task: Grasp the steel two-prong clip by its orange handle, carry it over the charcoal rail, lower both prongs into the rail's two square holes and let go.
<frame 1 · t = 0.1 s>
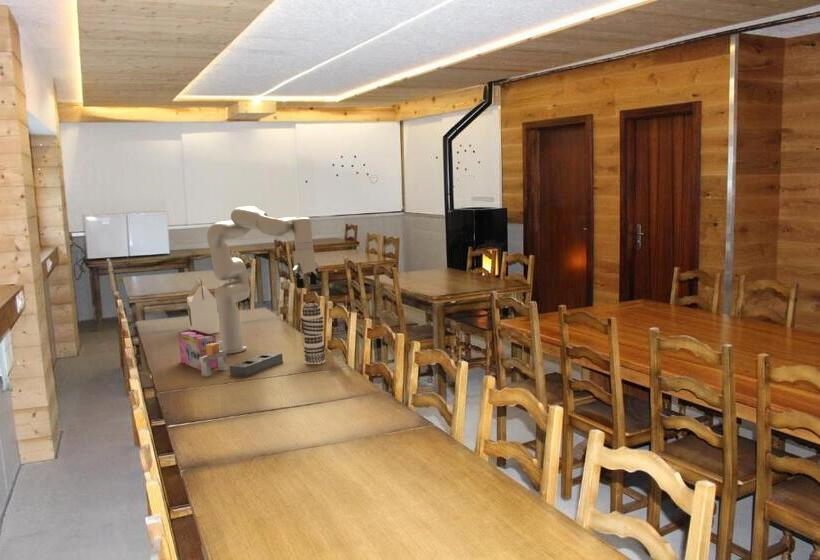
hand: (307, 286, 322), 31 cm above the table, tool pointing down, fingers open, 9 cm apart
rail: (257, 368, 311), on the table
decorative candle: (315, 362, 317), on the table
gum box: (199, 365, 325), on the table
clip: (214, 372, 309), on the table
gable box: (204, 331, 400), on the table
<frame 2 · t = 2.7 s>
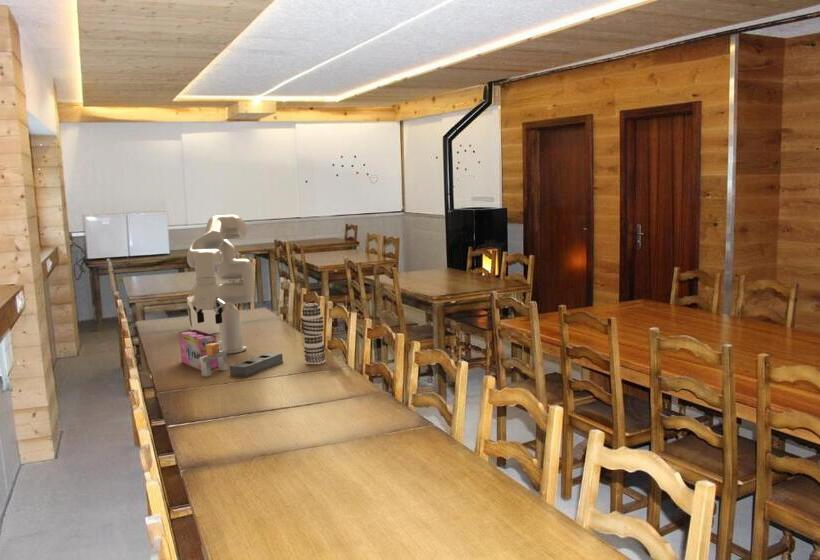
hand: (210, 322, 306), 21 cm above the table, tool pointing down, fingers open, 9 cm apart
nothing on the table moved.
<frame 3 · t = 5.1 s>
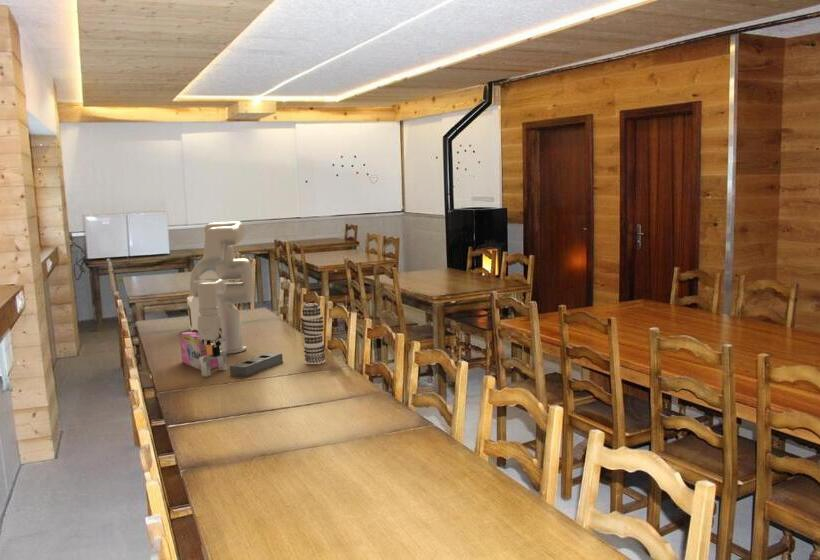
hand: (213, 355, 308), 7 cm above the table, tool pointing down, fingers closed on clip, 3 cm apart
clip: (214, 372, 309), on the table, touching gripper
everything else where it was.
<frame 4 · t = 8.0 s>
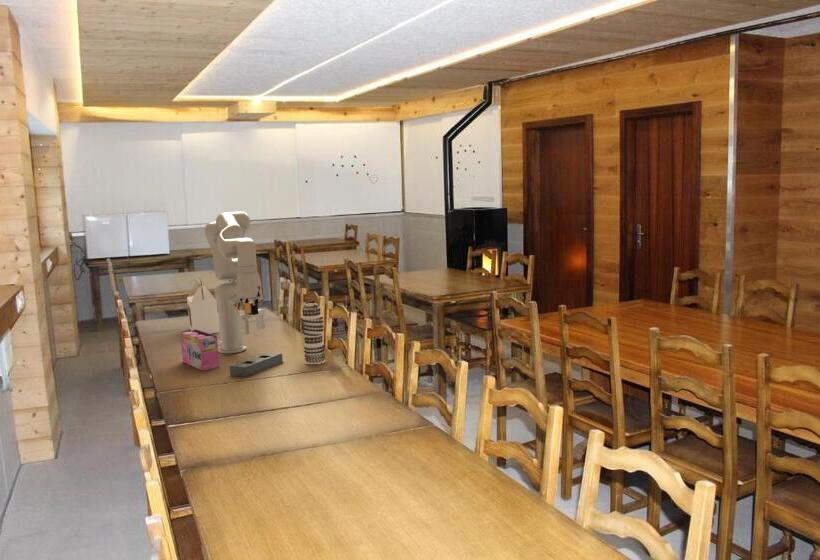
hand: (251, 313, 308), 23 cm above the table, tool pointing down, fingers closed on clip, 3 cm apart
clip: (252, 331, 309), point 16 cm above the table, touching gripper
everything else where it was.
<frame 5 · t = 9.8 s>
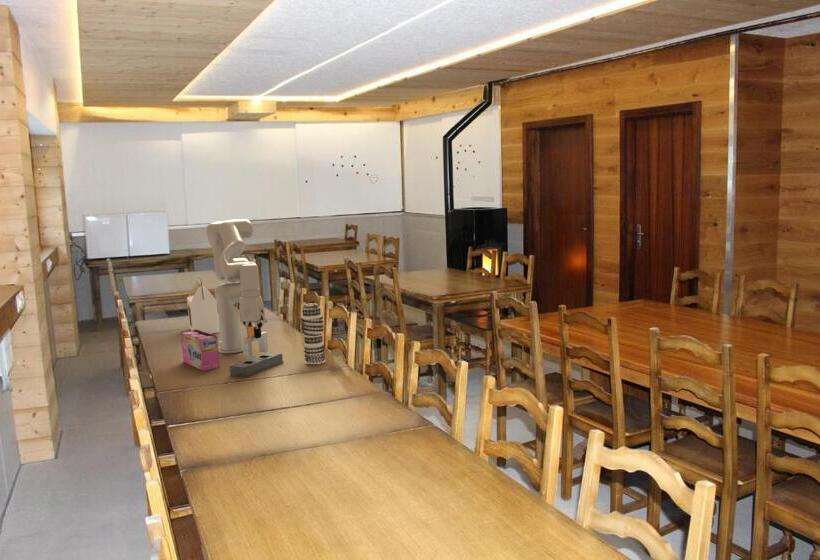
hand: (254, 337, 309), 13 cm above the table, tool pointing down, fingers closed on clip, 3 cm apart
clip: (256, 354, 310), point 6 cm above the table, touching gripper
everything else where it was.
when the fingers open (9 cm above the table, at t = 11.4 s): clip drops 1 cm, on the table.
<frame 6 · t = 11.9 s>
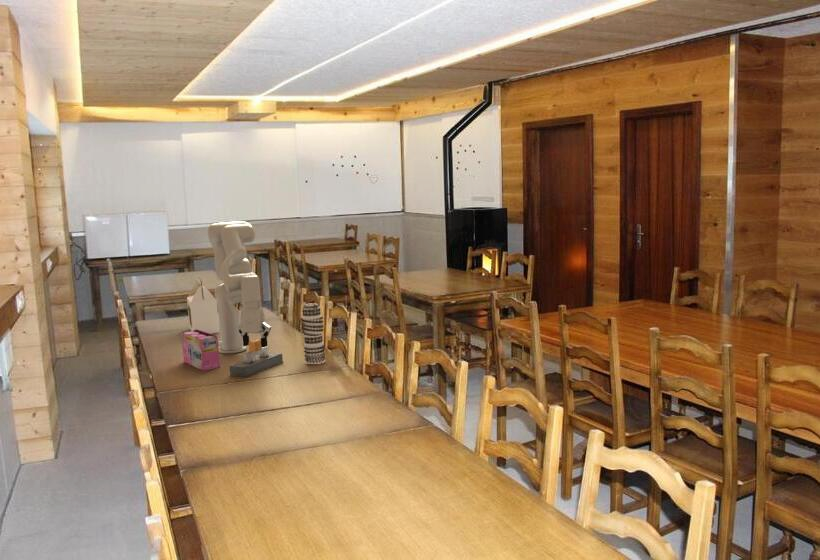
hand: (255, 346, 310), 10 cm above the table, tool pointing down, fingers open, 9 cm apart
clip: (257, 368, 311), on the table
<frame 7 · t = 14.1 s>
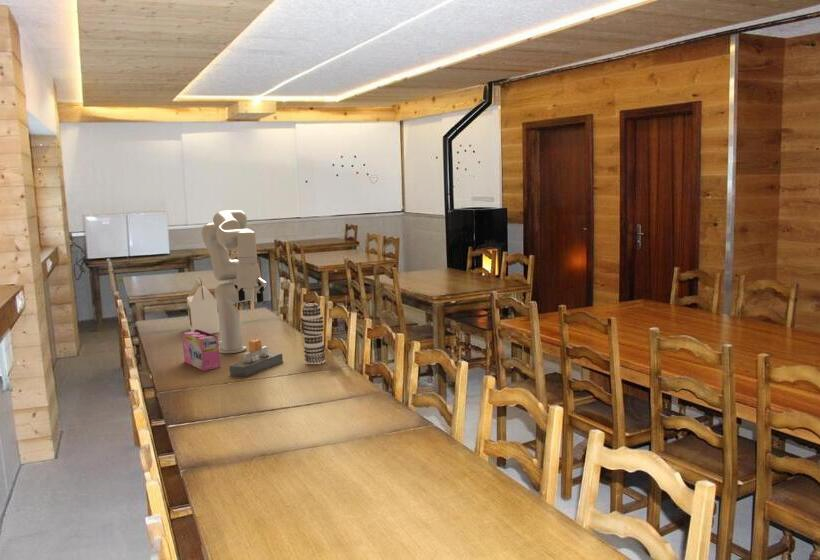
hand: (251, 301, 313), 28 cm above the table, tool pointing down, fingers open, 9 cm apart
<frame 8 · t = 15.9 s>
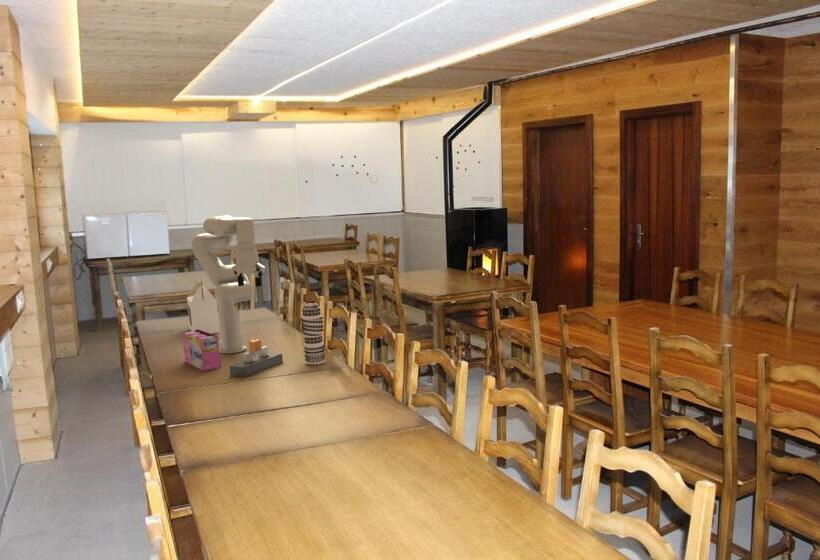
hand: (249, 286, 324), 32 cm above the table, tool pointing down, fingers open, 9 cm apart
at the end: clip 0.1 cm off-centre on the rail, point 0.0 cm above the rail's base; clip tilted 0°; the gripper is holding nothing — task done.
